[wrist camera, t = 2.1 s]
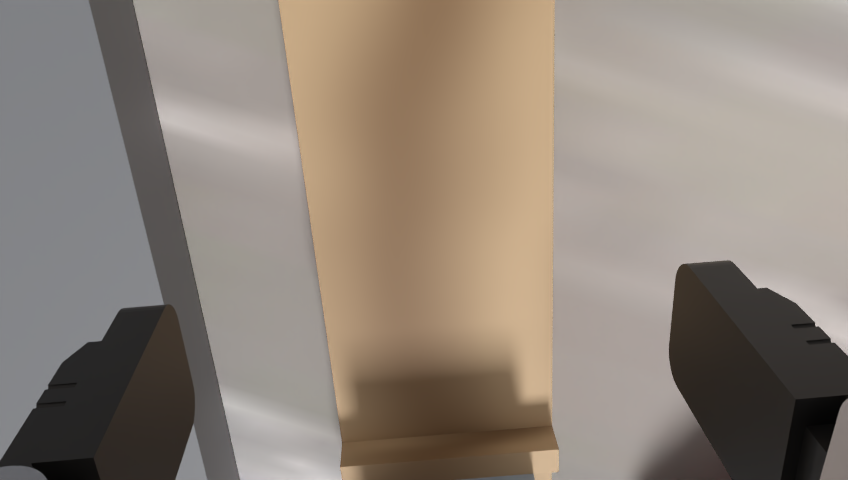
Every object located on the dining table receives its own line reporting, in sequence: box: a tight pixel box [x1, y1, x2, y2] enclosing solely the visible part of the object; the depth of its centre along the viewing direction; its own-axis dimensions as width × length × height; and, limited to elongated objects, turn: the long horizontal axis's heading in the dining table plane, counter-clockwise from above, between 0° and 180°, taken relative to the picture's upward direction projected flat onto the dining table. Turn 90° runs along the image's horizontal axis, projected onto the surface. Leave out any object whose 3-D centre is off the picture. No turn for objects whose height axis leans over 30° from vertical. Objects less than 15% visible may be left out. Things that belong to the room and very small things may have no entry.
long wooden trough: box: [278, 0, 559, 480], centre depth 20 cm, size 6×30×6 cm, turn 4°
